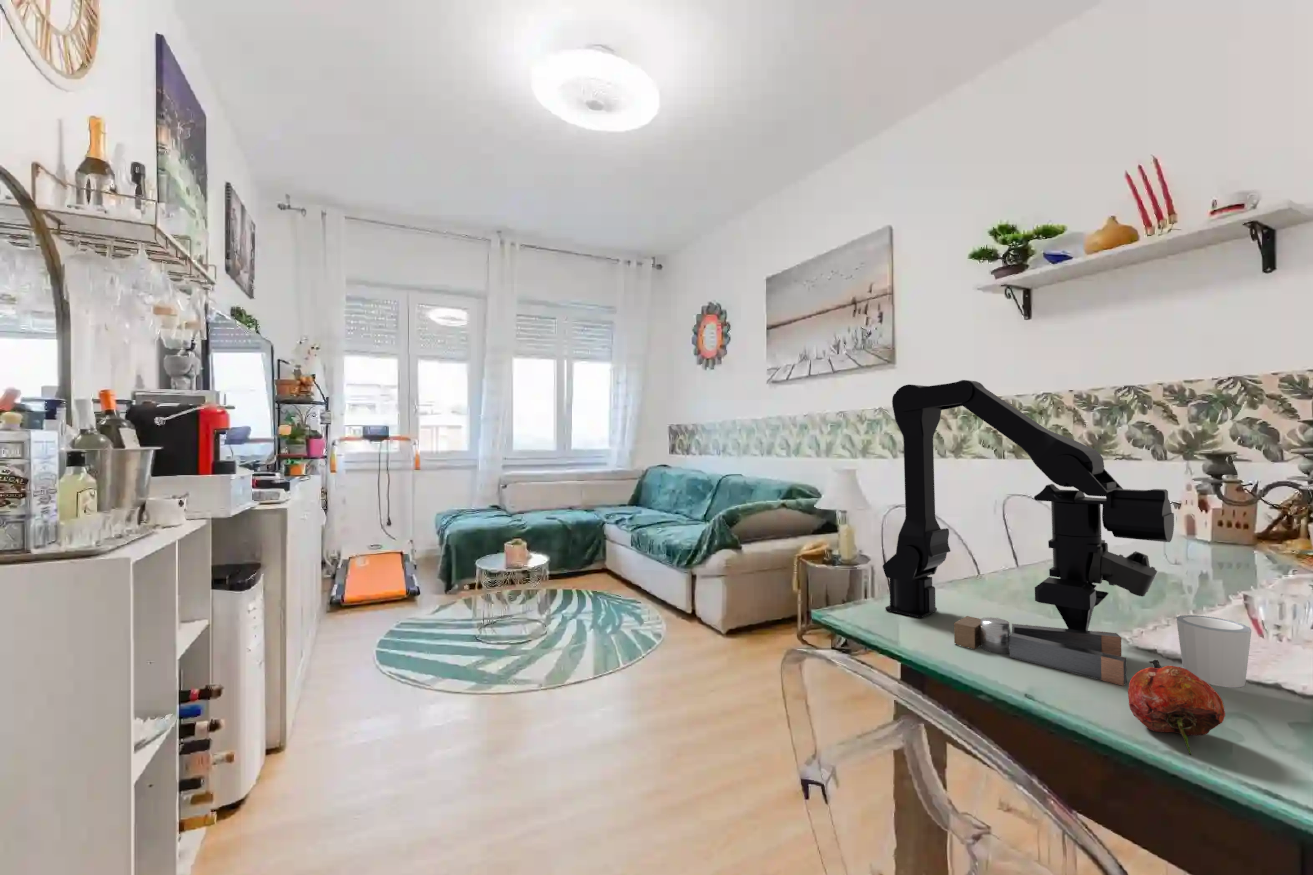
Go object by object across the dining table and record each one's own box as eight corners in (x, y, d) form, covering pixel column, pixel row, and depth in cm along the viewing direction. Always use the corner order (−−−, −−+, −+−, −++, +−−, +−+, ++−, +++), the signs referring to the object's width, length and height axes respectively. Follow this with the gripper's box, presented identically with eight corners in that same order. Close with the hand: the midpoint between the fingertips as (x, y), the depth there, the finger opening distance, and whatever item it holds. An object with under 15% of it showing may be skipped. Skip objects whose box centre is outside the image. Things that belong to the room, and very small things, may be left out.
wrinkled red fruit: (1239, 780, 55) (1209, 685, 62) (1242, 738, 52) (1210, 643, 59) (1139, 764, 59) (1121, 677, 66) (1136, 725, 56) (1117, 637, 63)
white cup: (1187, 683, 71) (1186, 626, 71) (1169, 663, 77) (1168, 611, 77) (1263, 693, 68) (1262, 634, 68) (1238, 672, 74) (1237, 618, 74)
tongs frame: (954, 644, 85) (954, 617, 85) (967, 636, 88) (966, 610, 88) (1123, 686, 70) (1122, 653, 70) (1131, 675, 73) (1130, 644, 73)
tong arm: (1014, 648, 83) (1014, 627, 83) (1012, 643, 84) (1011, 623, 84) (1121, 659, 78) (1121, 637, 78) (1116, 654, 80) (1116, 632, 80)
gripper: (1137, 551, 70) (1141, 678, 70) (1160, 529, 83) (1163, 637, 83) (1031, 541, 78) (1035, 655, 78) (1067, 522, 91) (1070, 621, 91)
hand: (1079, 641), depth 82 cm, fingers closed
